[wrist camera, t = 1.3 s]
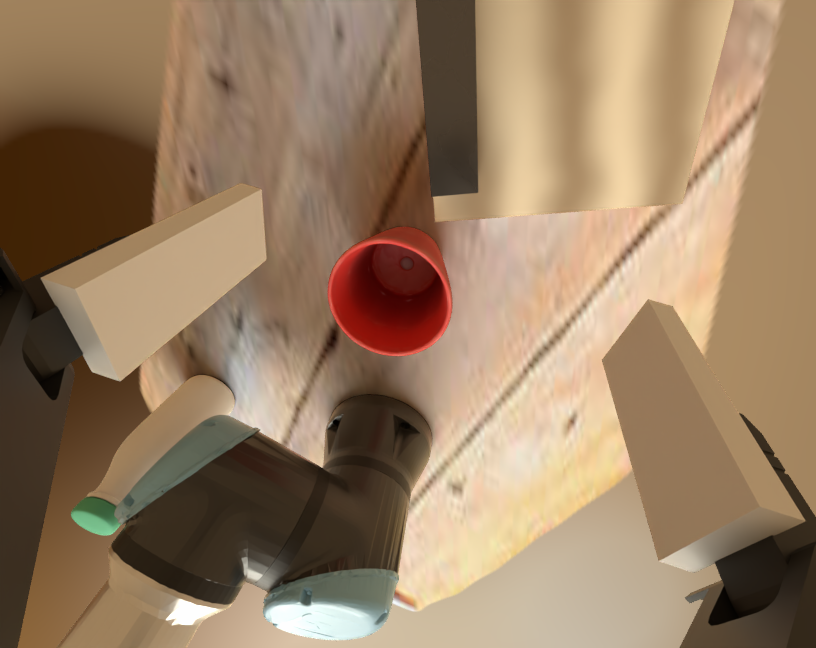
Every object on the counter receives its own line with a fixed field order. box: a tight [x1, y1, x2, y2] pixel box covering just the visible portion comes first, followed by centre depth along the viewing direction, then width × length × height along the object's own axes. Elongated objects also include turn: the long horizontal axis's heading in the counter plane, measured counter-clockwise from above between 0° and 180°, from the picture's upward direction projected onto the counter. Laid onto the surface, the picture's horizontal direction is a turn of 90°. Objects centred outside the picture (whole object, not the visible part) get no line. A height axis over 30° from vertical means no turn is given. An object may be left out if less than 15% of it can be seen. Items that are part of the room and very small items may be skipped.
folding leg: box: [416, 0, 478, 197], centre depth 21 cm, size 18×4×5 cm, turn 7°
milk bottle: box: [71, 375, 235, 535], centre depth 45 cm, size 8×8×20 cm
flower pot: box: [328, 227, 452, 356], centre depth 34 cm, size 11×11×10 cm
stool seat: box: [433, 0, 735, 222], centre depth 25 cm, size 18×23×6 cm
